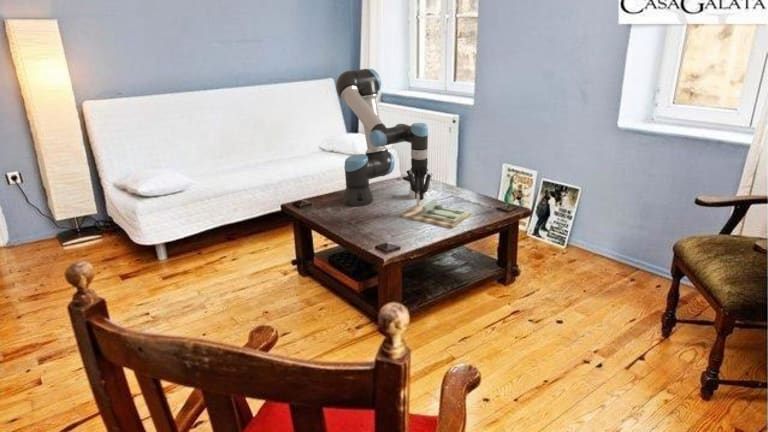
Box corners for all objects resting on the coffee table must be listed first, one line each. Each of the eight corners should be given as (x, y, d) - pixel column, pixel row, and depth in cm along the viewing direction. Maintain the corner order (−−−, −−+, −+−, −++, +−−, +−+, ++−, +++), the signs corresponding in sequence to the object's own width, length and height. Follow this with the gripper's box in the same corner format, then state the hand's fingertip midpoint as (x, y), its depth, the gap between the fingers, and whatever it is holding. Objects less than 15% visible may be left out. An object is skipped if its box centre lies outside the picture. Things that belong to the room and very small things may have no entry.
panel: (421, 215, 232) (421, 207, 230) (434, 207, 241) (434, 199, 239) (453, 222, 222) (454, 214, 221) (466, 213, 231) (466, 205, 230)
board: (399, 216, 236) (399, 209, 234) (419, 204, 249) (419, 197, 248) (452, 228, 220) (452, 220, 219) (471, 215, 234) (471, 207, 232)
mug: (411, 182, 252) (407, 178, 259) (412, 200, 256) (407, 195, 263) (434, 180, 255) (429, 175, 262) (434, 197, 258) (429, 192, 266)
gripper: (402, 157, 230) (403, 205, 239) (427, 161, 223) (427, 210, 232) (411, 153, 236) (411, 200, 245) (435, 157, 229) (435, 205, 238)
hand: (419, 205), depth 238 cm, fingers closed
